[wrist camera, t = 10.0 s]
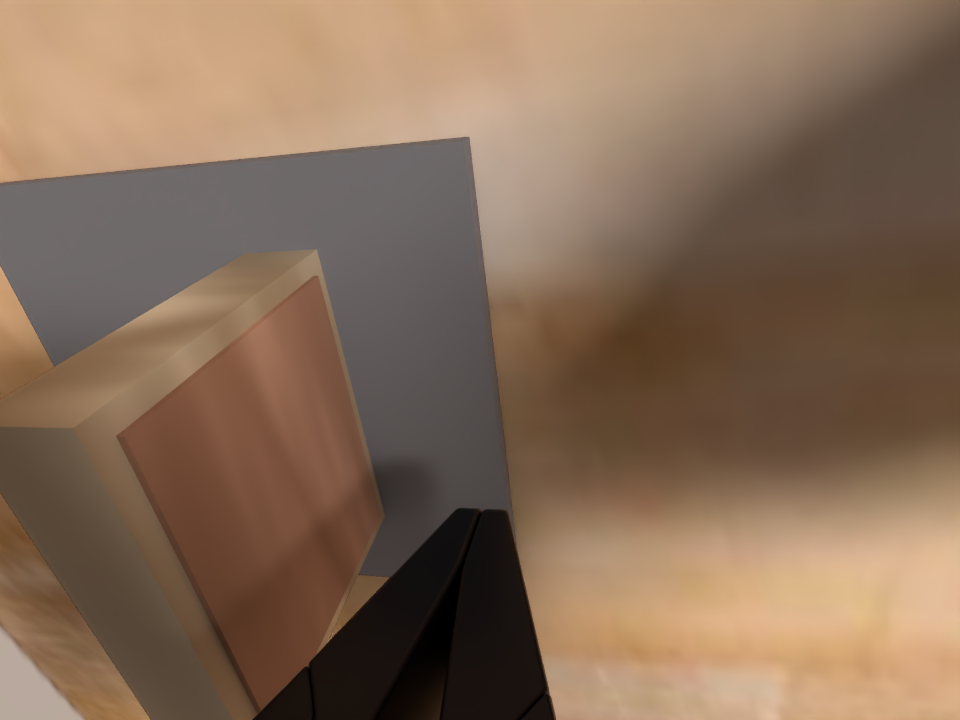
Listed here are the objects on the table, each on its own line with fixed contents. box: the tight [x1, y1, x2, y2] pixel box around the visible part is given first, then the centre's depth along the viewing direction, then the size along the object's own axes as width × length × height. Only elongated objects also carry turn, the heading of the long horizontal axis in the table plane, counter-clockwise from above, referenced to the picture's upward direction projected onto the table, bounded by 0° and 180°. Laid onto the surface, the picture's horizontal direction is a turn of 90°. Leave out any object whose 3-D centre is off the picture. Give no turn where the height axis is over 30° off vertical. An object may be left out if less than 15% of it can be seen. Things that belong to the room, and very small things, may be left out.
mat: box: [0, 137, 517, 577], centre depth 14 cm, size 11×11×1 cm
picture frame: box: [0, 249, 385, 720], centre depth 10 cm, size 2×7×6 cm, turn 7°
